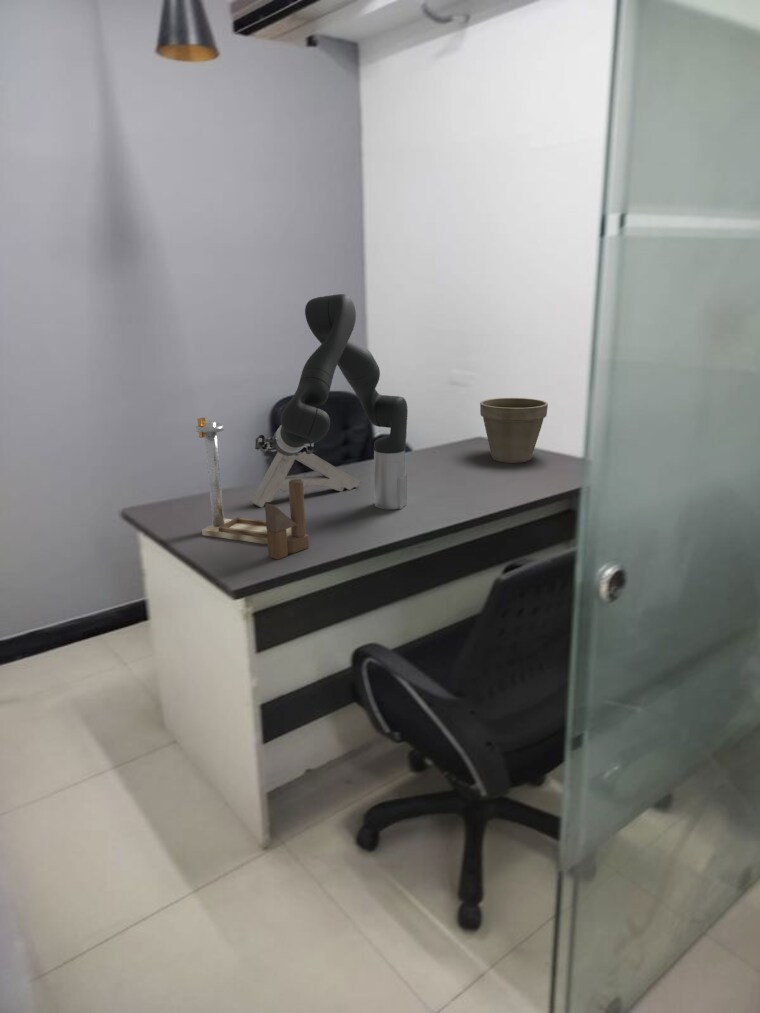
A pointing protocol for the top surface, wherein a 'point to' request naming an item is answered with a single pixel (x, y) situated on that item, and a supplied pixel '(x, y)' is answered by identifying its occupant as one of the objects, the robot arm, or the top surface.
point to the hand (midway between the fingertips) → (280, 450)
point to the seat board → (241, 530)
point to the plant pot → (513, 427)
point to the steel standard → (213, 467)
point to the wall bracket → (300, 477)
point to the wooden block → (287, 524)
